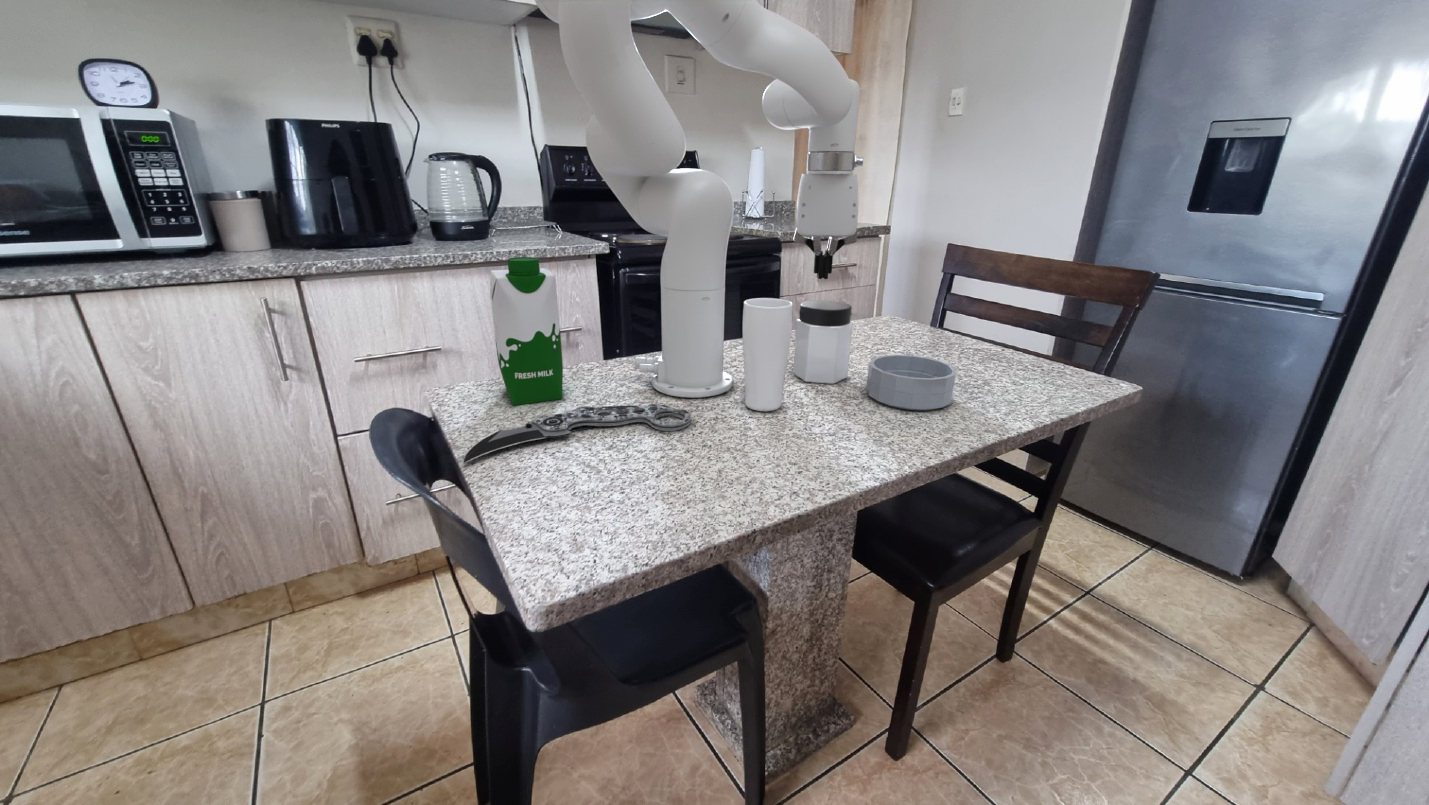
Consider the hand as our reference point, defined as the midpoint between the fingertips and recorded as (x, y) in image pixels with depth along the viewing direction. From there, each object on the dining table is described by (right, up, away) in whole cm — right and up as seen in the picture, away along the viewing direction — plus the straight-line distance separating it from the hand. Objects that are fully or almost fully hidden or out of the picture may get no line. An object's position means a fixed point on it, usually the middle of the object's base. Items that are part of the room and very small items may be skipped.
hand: (822, 277), depth 102 cm
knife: (-36, -26, -28) cm, 52 cm away
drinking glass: (-12, -23, -18) cm, 31 cm away
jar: (-1, -18, -5) cm, 18 cm away
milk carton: (-46, -21, -15) cm, 53 cm away
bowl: (+10, -21, -14) cm, 27 cm away
